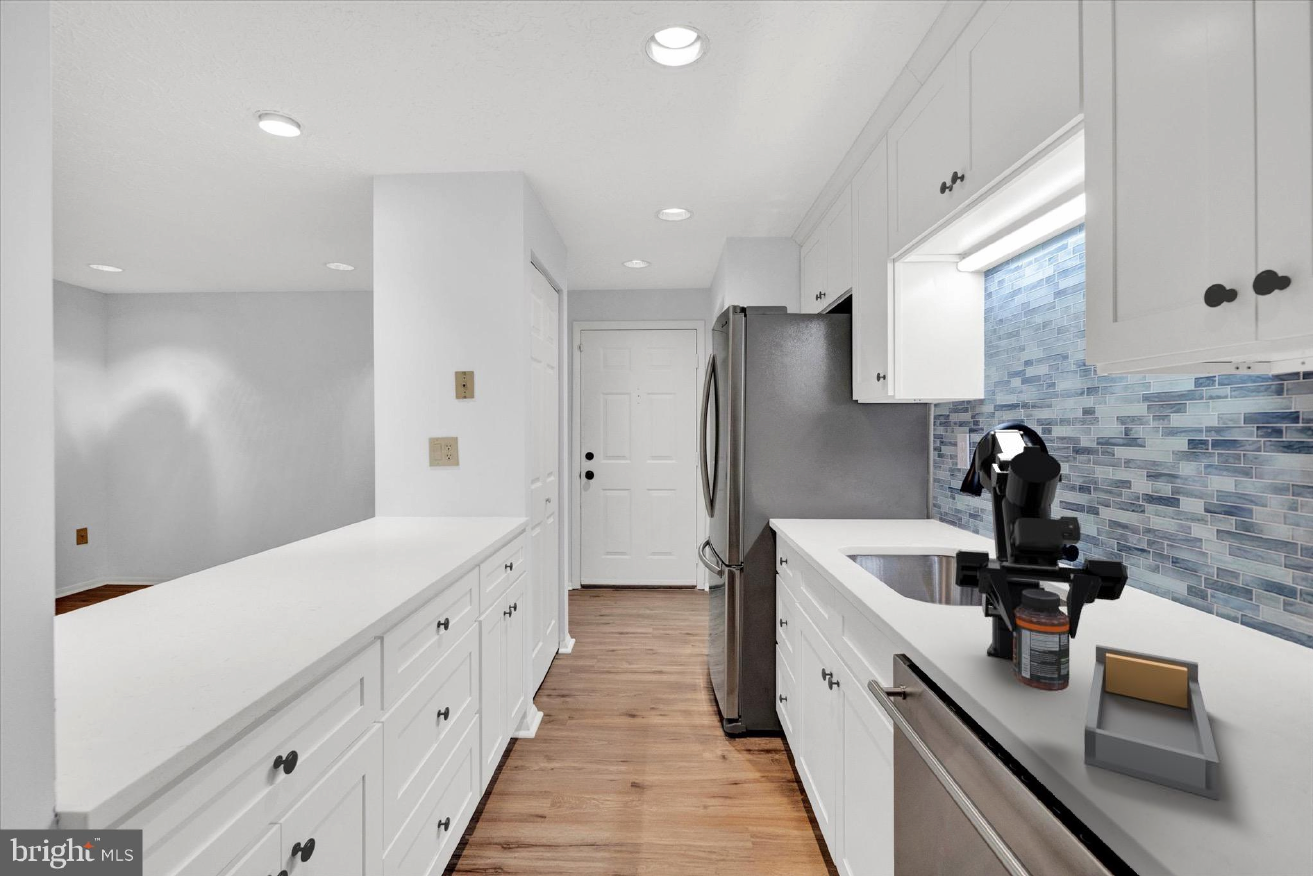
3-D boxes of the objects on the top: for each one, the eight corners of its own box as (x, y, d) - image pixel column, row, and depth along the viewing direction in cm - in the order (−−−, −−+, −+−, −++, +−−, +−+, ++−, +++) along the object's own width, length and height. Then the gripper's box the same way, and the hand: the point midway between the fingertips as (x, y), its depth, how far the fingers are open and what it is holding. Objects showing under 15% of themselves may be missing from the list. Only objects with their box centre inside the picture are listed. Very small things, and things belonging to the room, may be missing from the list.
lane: (1095, 684, 87) (1096, 644, 87) (1197, 705, 80) (1197, 662, 80) (1084, 762, 67) (1084, 711, 67) (1218, 800, 60) (1219, 743, 60)
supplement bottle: (1016, 668, 79) (1016, 583, 79) (1070, 680, 75) (1071, 591, 75) (1009, 684, 74) (1010, 594, 74) (1067, 698, 71) (1068, 603, 70)
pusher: (1106, 681, 85) (1106, 647, 85) (1185, 697, 80) (1185, 661, 80) (1105, 691, 82) (1105, 655, 82) (1187, 708, 77) (1187, 670, 77)
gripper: (955, 490, 82) (960, 592, 72) (1123, 495, 74) (1154, 610, 64) (953, 537, 89) (956, 635, 79) (1105, 546, 81) (1131, 656, 71)
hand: (1042, 633), depth 73 cm, fingers closed on supplement bottle, 6 cm apart
